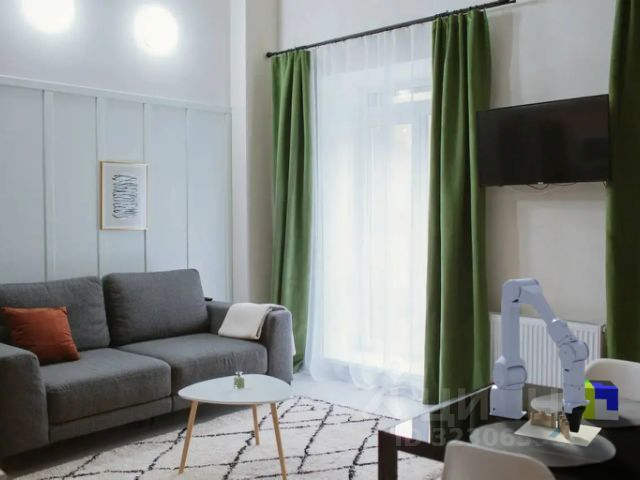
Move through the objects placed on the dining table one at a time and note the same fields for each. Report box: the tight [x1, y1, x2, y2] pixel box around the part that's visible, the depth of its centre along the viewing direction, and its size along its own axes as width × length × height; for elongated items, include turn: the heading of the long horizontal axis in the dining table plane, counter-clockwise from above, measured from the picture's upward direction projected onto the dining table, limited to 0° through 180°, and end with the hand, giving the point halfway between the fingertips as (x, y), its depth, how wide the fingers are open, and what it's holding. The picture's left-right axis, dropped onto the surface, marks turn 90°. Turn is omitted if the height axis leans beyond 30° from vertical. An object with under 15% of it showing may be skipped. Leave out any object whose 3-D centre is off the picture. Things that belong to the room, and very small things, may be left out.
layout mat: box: [513, 419, 602, 447], centre depth 189 cm, size 20×18×1 cm
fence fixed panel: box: [529, 408, 563, 429], centre depth 192 cm, size 9×1×5 cm, turn 55°
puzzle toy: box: [582, 379, 619, 421], centre depth 203 cm, size 10×10×10 cm
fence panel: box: [559, 414, 569, 438], centre depth 185 cm, size 7×1×4 cm, turn 173°
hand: (574, 431), depth 184 cm, fingers closed
